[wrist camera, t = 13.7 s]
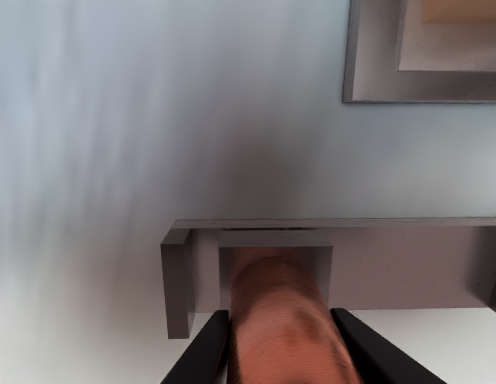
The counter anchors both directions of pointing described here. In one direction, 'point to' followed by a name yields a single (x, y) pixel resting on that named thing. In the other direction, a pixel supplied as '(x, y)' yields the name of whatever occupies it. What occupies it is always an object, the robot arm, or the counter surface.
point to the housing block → (459, 12)
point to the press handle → (281, 309)
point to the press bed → (416, 56)
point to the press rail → (347, 263)
